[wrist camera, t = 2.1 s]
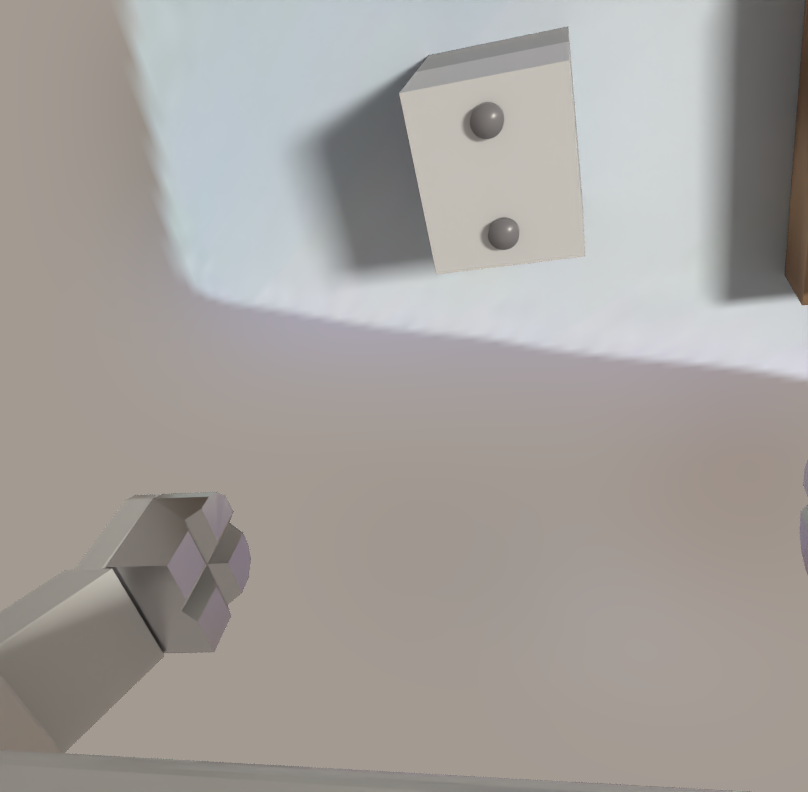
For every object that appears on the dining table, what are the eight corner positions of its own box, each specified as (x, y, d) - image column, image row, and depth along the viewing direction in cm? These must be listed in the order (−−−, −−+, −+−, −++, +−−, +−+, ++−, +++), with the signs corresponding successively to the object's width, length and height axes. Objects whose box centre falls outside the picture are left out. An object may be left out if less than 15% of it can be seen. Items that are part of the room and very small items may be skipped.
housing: (429, 54, 27) (397, 95, 21) (568, 26, 25) (568, 62, 20) (457, 210, 30) (435, 278, 25) (581, 192, 28) (585, 259, 23)
